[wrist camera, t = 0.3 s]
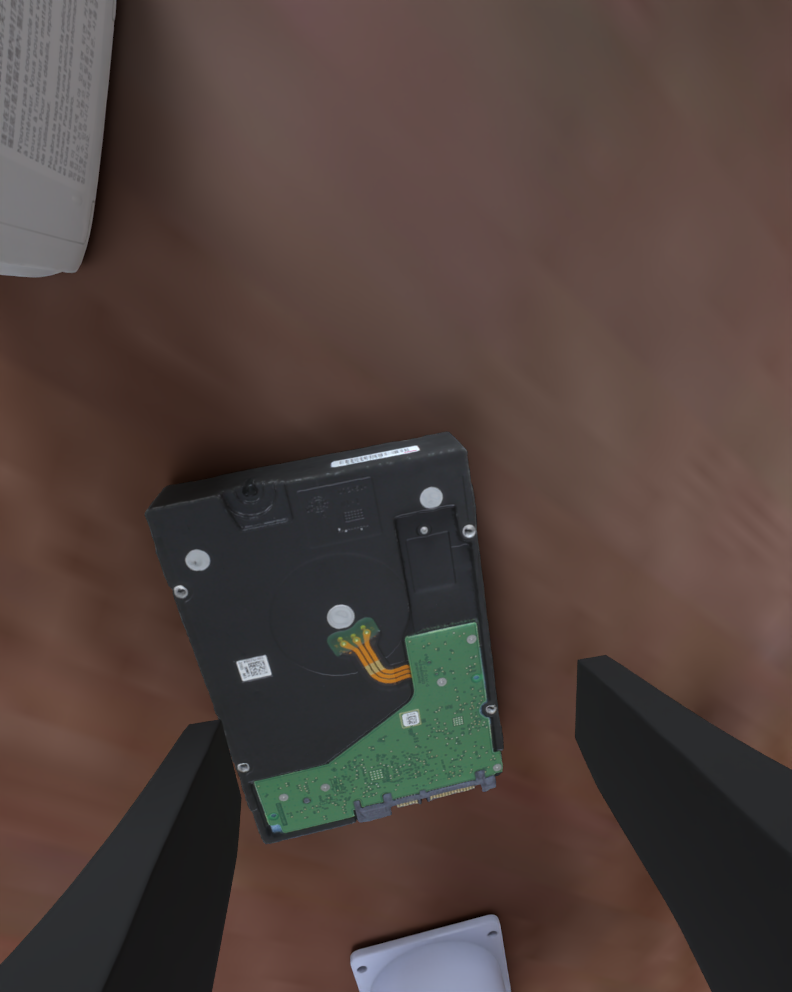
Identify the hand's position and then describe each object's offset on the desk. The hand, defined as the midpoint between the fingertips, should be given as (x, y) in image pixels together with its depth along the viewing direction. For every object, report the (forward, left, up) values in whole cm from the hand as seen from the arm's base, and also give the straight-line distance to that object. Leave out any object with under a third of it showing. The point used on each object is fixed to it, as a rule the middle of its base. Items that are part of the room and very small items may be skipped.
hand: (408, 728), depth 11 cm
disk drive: (-4, +1, -10) cm, 11 cm away
